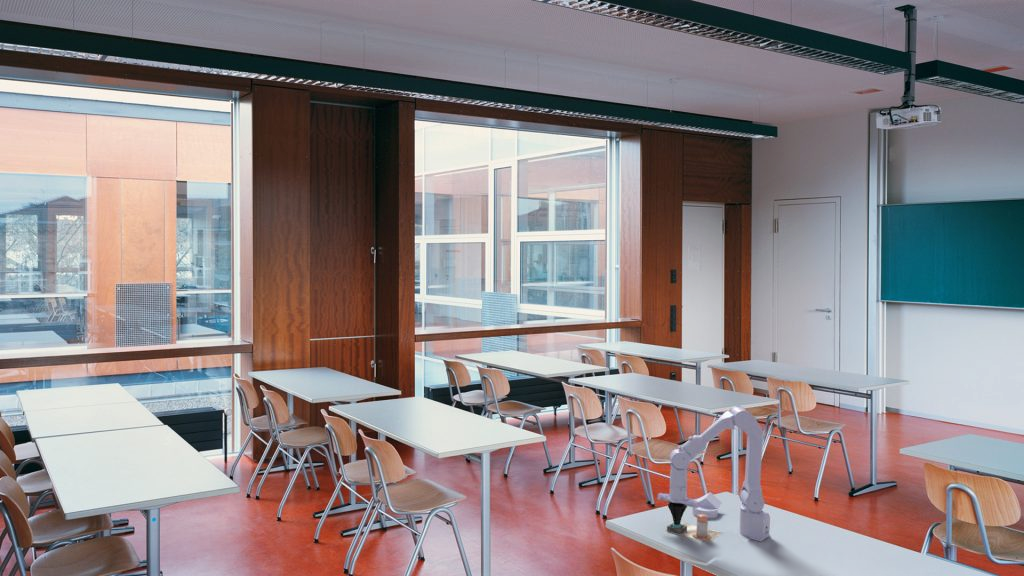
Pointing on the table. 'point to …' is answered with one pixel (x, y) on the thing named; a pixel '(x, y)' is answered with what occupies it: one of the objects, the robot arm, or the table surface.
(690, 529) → the beige base plate
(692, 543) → the table surface
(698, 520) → the capsule peg
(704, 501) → the wedge on round base
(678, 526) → the button
